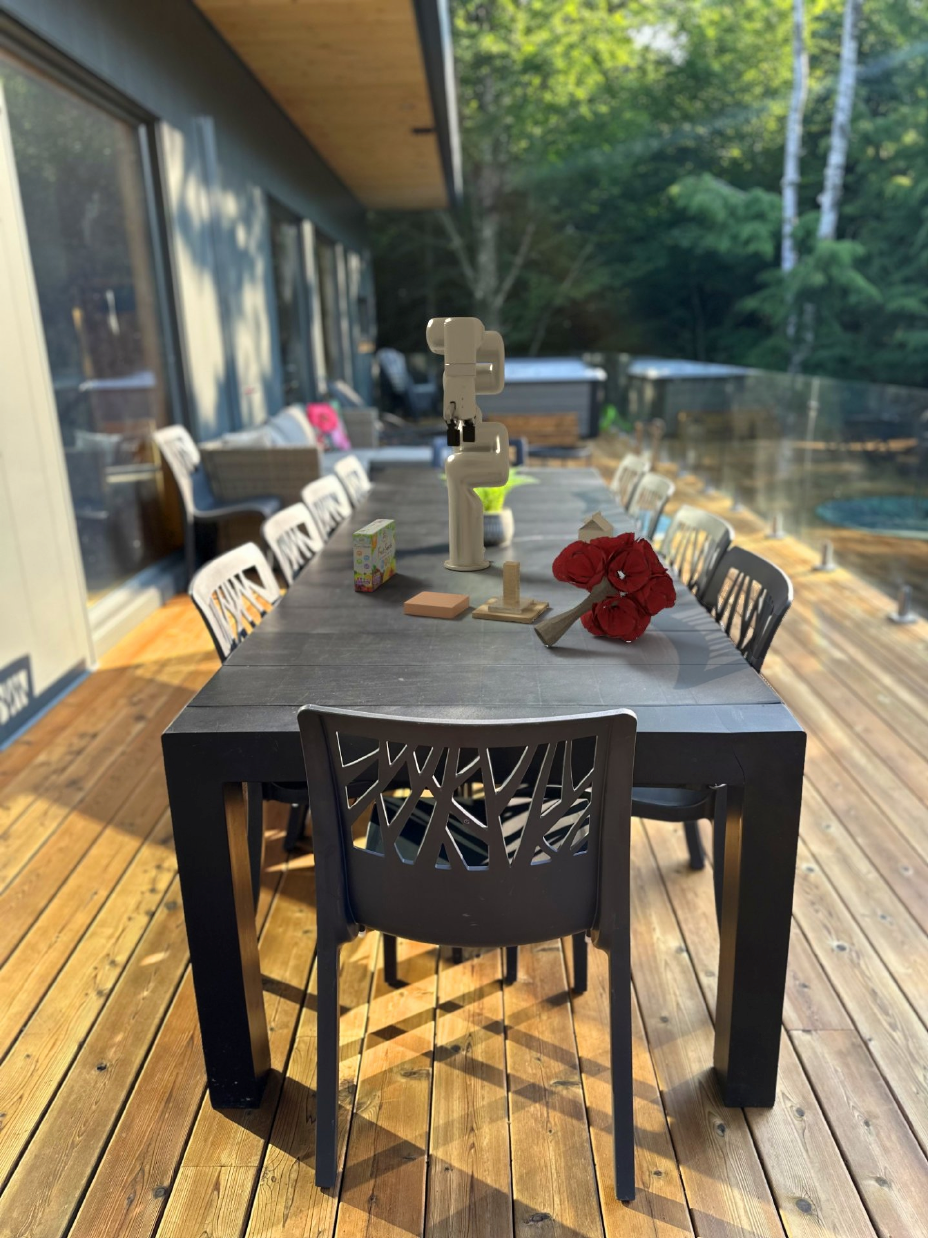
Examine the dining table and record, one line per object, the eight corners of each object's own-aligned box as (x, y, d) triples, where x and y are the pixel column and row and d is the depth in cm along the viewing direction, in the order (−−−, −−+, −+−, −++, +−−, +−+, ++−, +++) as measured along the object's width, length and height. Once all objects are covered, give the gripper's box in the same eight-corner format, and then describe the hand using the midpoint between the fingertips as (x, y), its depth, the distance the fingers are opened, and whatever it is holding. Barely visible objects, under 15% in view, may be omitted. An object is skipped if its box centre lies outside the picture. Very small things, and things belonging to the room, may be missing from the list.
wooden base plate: (493, 601, 219) (493, 596, 218) (548, 607, 213) (549, 602, 213) (471, 617, 206) (471, 612, 206) (530, 623, 201) (530, 618, 201)
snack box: (374, 592, 228) (372, 533, 224) (353, 591, 230) (350, 533, 225) (397, 572, 248) (395, 518, 244) (377, 572, 249) (375, 517, 245)
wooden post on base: (502, 600, 215) (502, 557, 212) (534, 603, 213) (534, 559, 210) (487, 611, 207) (487, 566, 203) (521, 614, 204) (521, 569, 201)
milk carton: (611, 583, 234) (614, 510, 228) (603, 590, 227) (606, 515, 222) (585, 581, 237) (587, 509, 231) (576, 587, 230) (578, 513, 225)
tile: (423, 591, 219) (403, 602, 209) (469, 595, 215) (451, 607, 205) (423, 603, 220) (404, 615, 210) (469, 607, 216) (452, 620, 206)
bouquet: (588, 695, 177) (709, 610, 181) (529, 598, 170) (657, 510, 173) (549, 667, 198) (658, 590, 201) (495, 579, 190) (610, 501, 193)
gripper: (459, 370, 225) (460, 440, 230) (431, 372, 210) (432, 447, 215) (488, 370, 223) (488, 441, 228) (461, 372, 207) (462, 448, 212)
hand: (461, 444), depth 221 cm, fingers open, 9 cm apart
